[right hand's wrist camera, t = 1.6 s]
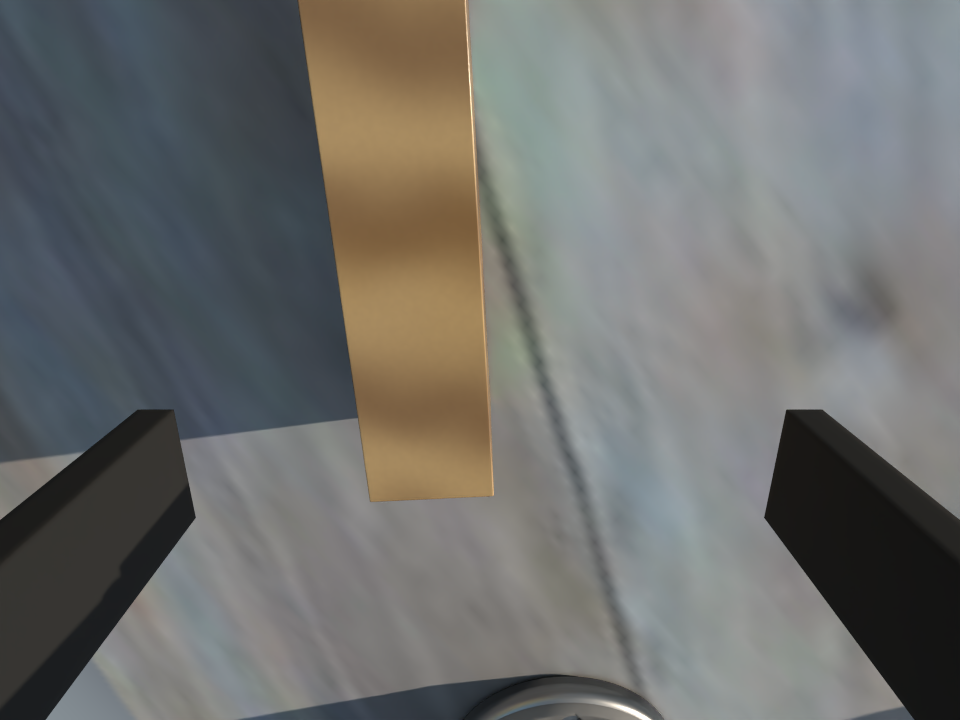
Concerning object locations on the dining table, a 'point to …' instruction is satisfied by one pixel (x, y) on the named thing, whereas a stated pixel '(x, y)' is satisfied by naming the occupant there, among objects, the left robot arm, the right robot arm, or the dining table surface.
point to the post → (406, 236)
